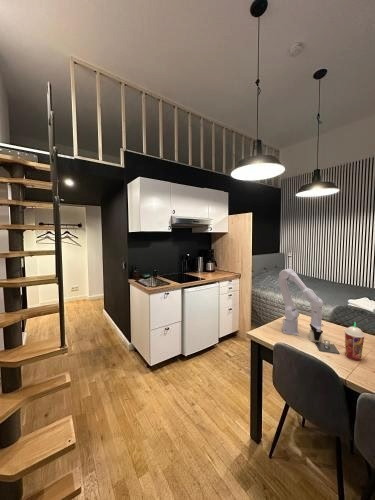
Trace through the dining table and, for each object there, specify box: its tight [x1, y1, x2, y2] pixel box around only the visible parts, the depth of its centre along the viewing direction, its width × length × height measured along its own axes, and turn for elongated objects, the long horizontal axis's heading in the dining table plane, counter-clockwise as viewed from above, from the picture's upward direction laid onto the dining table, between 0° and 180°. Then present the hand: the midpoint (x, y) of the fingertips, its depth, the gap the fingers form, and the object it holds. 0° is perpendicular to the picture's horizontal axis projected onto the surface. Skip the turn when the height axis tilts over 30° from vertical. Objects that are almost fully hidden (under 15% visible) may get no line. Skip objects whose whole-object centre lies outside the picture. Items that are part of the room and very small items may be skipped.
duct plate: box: [314, 339, 340, 355], centre depth 125 cm, size 10×10×4 cm
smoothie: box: [344, 321, 365, 361], centre depth 115 cm, size 8×8×20 cm
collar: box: [309, 329, 323, 343], centre depth 134 cm, size 6×6×5 cm
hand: (315, 337), depth 134 cm, fingers closed on collar, 6 cm apart
